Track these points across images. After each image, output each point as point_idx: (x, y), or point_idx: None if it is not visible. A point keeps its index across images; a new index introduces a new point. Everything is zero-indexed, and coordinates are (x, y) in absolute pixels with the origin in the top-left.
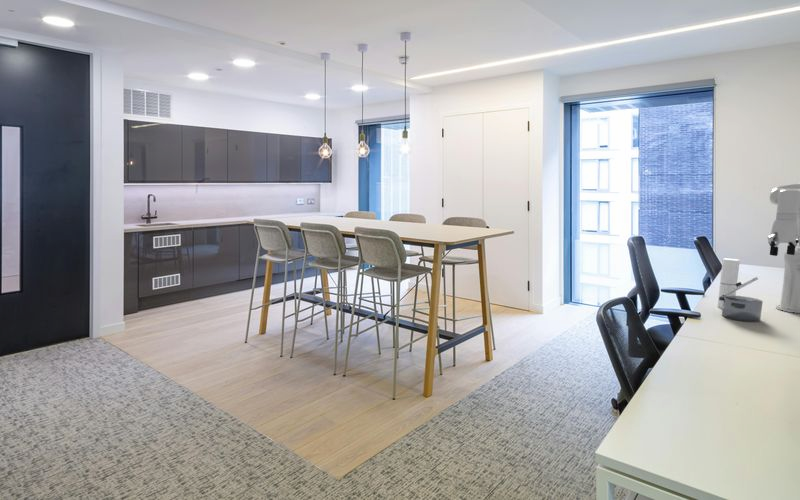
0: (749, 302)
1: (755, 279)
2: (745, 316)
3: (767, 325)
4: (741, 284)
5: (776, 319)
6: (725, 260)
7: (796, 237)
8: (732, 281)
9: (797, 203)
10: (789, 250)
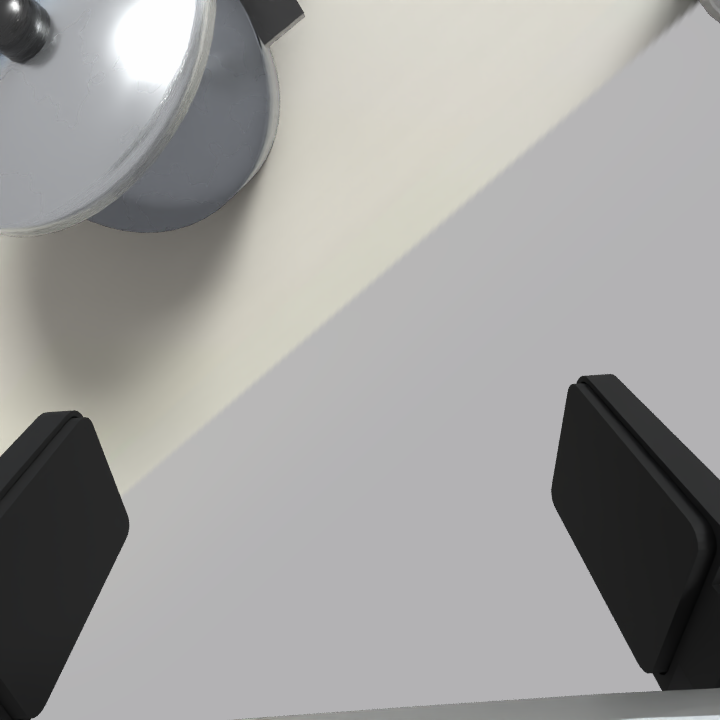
0: (93, 215)
1: (63, 220)
2: None
3: (212, 274)
4: (25, 59)
5: (390, 159)
6: None
7: None
8: None
9: None
10: (604, 489)
